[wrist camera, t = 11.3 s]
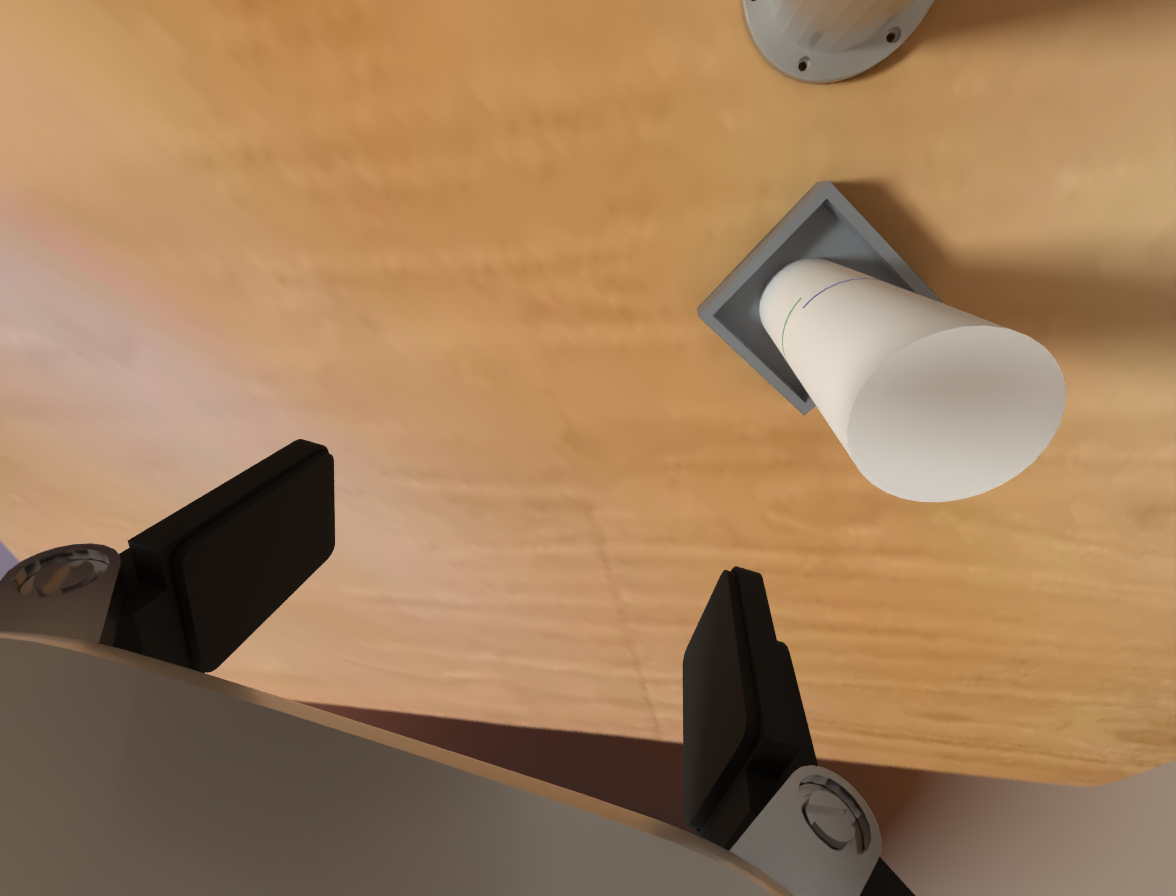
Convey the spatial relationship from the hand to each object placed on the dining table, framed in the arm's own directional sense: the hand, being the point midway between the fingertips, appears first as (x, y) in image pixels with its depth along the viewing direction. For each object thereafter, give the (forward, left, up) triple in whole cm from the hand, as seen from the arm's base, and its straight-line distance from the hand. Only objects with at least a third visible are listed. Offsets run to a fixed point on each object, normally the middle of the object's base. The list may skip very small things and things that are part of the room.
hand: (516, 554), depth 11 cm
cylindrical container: (-4, +13, -36) cm, 38 cm away
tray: (-4, +14, -36) cm, 39 cm away
